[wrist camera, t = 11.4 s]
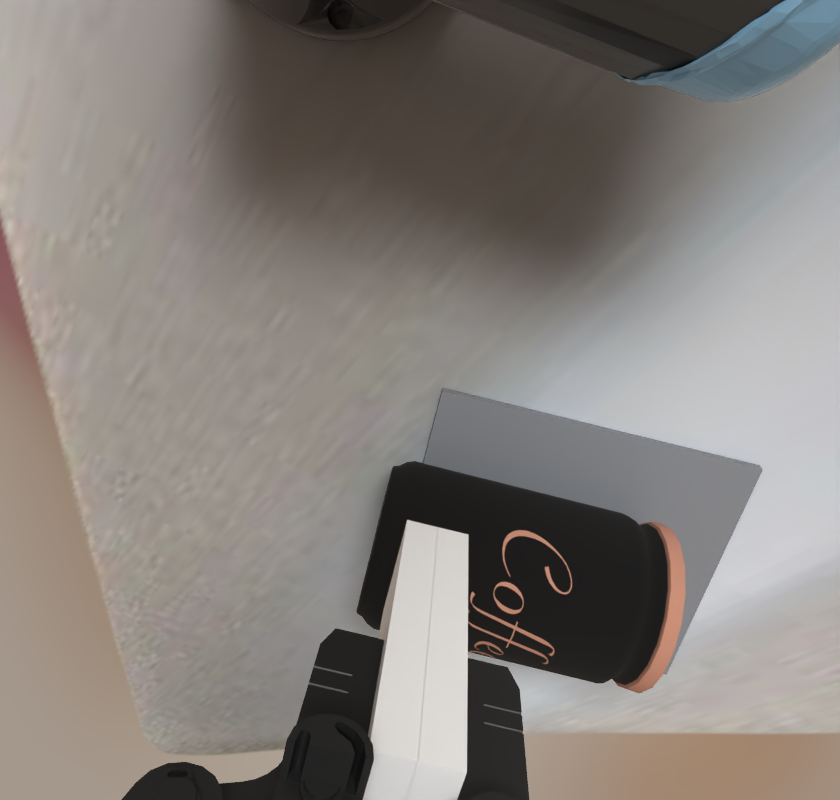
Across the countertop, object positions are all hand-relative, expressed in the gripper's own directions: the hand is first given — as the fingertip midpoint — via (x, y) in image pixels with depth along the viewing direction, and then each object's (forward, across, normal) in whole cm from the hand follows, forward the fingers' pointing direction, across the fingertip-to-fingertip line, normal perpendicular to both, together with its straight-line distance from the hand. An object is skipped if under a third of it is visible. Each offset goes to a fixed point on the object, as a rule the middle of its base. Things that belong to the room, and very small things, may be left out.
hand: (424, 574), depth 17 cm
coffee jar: (+24, -2, -15) cm, 28 cm away
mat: (+29, +12, -15) cm, 35 cm away
